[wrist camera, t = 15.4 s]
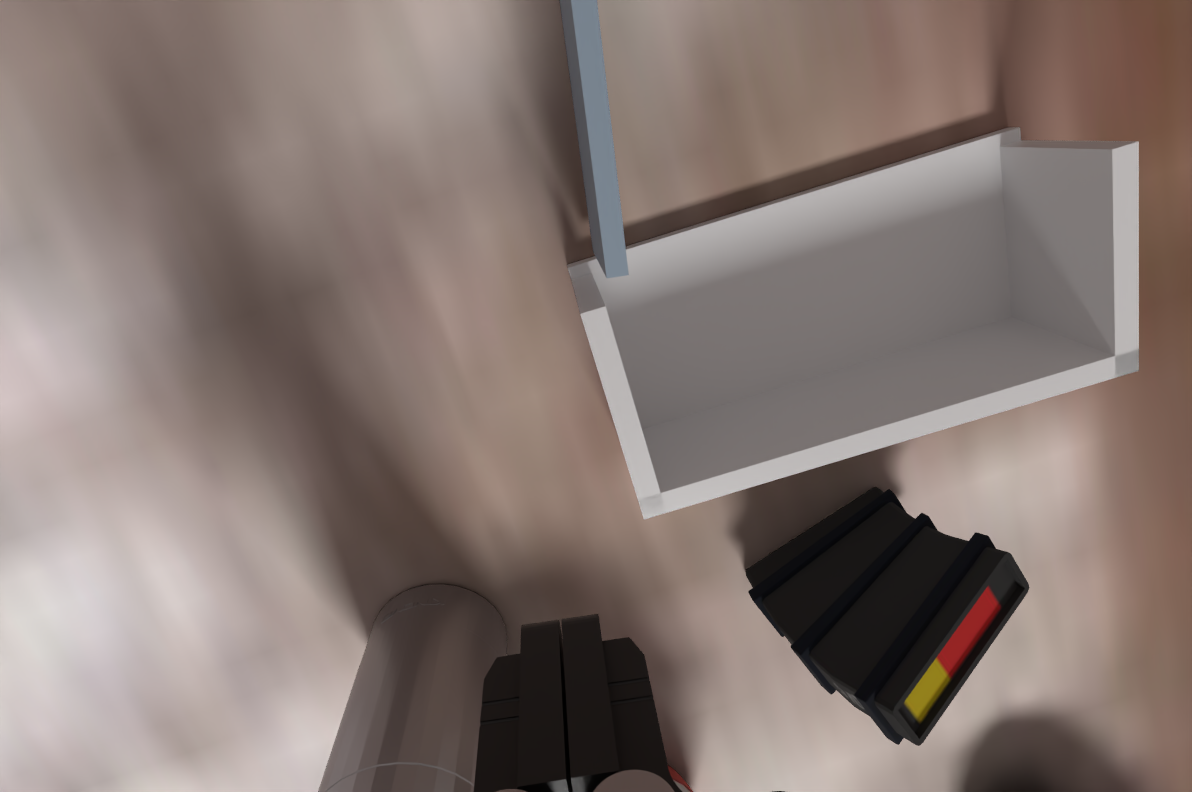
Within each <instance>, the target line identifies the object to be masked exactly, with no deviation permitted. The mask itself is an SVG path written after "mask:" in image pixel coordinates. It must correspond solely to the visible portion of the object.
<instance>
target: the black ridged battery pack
mask: <svg viewBox="0 0 1192 792" xmlns="http://www.w3.org/2000/svg"><path fill="white" fill-rule="evenodd" d="M746 576H747V578H748V580H749V581H750V583H751V585H752V587H753V588H752V589H751V590H750V591H749V594H750V596H751V598H752V600H753V601H754V603H755V604H756V605H757V606H758V608H759V609H760V610H761V611H762V613H763V614H764V615H765V616H766V618H767V619H768V620H769V621H770V623H771V624H772V625H773V626H774V628H775V629H776V630H777V631H778V633H779V634H780V635H781V636H782V637H783V636H785V637H786V638H787V639H788V641H789V642H790V643H791V644H792V645H791V648H792V650H793V651H794V652H795V653H796V655H797V656H798V657H799V658H800V660H801V661H802V662H803V663H804V665H805V666H806V667H807V668H808V670H809V671H810V672H811V673H812V675H813V676H814V677H815V678H816V680H817V681H818V682H819V683H820V685H821V686H822V687H823V688H824V689H825V690H827V691H828V692H829V693H830V694H833V693H834V692H835V691H836V690H837V691H838V692H839V693H840V694H841V695H842V696H843V697H845V698H846V699H847V700H848V701H849V702H850V703H851V704H852V705H853V706H854V707H856V708H857V709H859V710H861V711H862V712H864V713H866V714H867V715H869V716H870V717H871V718H872V719H873V721H874V722H875V723H876V725H877V726H878V727H879V728H880V730H881V731H882V732H883V734H884V735H885V736H886V737H887V738H888V739H890V740H891V741H893V742H894V743H896V744H898V745H899V744H900V742H901V741H902V739H903V738H906V739H907V740H909V741H911V742H912V743H914V744H915V745H918V746H919V745H921V744H922V743H923V742H924V740H925V739H926V737H927V736H928V734H929V733H930V732H931V730H932V729H933V727H934V726H935V724H936V723H937V722H938V720H939V719H940V717H941V716H942V714H943V713H944V712H945V710H946V709H947V707H948V706H949V704H950V703H951V701H952V700H953V699H954V697H955V696H956V694H957V693H958V691H959V690H960V689H961V687H962V686H963V684H964V683H965V681H966V680H967V679H968V677H969V676H970V674H971V673H972V671H973V670H974V669H975V667H976V666H977V664H978V663H979V661H980V660H981V658H982V657H983V656H984V654H985V653H986V651H987V650H988V648H989V647H990V646H991V644H992V643H993V641H994V640H995V638H996V637H997V636H998V634H999V633H1000V631H1001V630H1002V628H1003V627H1004V626H1005V624H1006V623H1007V621H1008V620H1009V618H1010V617H1011V615H1012V614H1013V613H1014V611H1015V610H1016V608H1017V607H1018V605H1019V604H1020V603H1021V601H1022V600H1023V598H1024V597H1025V595H1026V594H1027V593H1028V590H1029V584H1028V582H1027V581H1026V579H1025V577H1024V575H1023V574H1022V572H1021V570H1020V569H1019V567H1018V565H1017V564H1016V562H1015V560H1014V558H1013V557H1012V555H1011V554H1010V553H1008V552H1005V551H1001V550H998V549H996V548H995V546H994V545H993V543H992V541H991V539H990V538H989V536H987V535H983V534H980V533H975V534H974V535H973V536H972V538H971V539H970V540H969V541H966V540H962V539H959V538H955V537H952V536H948V535H945V534H943V533H941V532H939V531H938V530H937V529H936V527H935V526H934V524H933V523H932V521H931V519H930V518H929V516H927V515H925V514H923V513H921V514H920V515H919V516H918V517H917V518H916V519H915V518H913V517H912V516H910V515H908V514H907V513H906V511H905V510H904V508H903V506H902V505H901V503H900V502H899V500H898V499H897V497H896V496H895V494H894V493H893V492H892V491H891V490H890V489H888V490H887V491H886V492H883V491H882V490H881V489H879V488H877V487H875V488H872V489H871V490H869V491H868V492H866V493H865V494H863V495H862V496H860V497H858V498H857V499H855V500H854V501H852V502H851V503H849V504H848V505H846V506H844V507H843V508H841V509H840V510H838V511H837V512H835V513H834V514H832V515H831V516H829V517H827V518H826V519H824V520H823V521H821V522H820V523H818V524H817V525H815V526H813V527H812V528H810V529H809V530H807V531H806V532H804V533H803V534H801V535H800V536H798V537H796V538H795V539H793V540H792V541H790V542H789V543H787V544H786V545H784V546H782V547H781V548H779V549H778V550H776V551H775V552H773V553H772V554H770V555H769V556H767V557H765V558H764V559H762V560H761V561H759V562H758V563H756V564H755V565H753V566H751V567H750V568H748V569H747V570H746Z"/></svg>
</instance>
